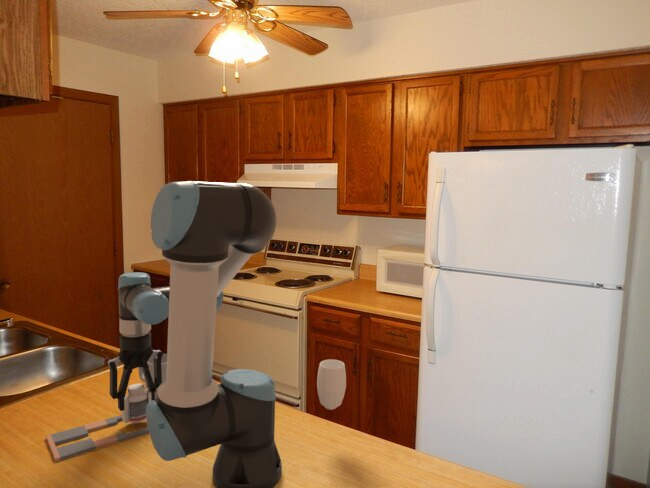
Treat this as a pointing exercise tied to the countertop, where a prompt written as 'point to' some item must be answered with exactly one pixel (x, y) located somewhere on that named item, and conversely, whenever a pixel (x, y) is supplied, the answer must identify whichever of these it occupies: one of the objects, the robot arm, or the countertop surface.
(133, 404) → the pill bottle
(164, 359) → the mug
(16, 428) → the countertop surface
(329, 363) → the cup
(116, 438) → the keyhole board
